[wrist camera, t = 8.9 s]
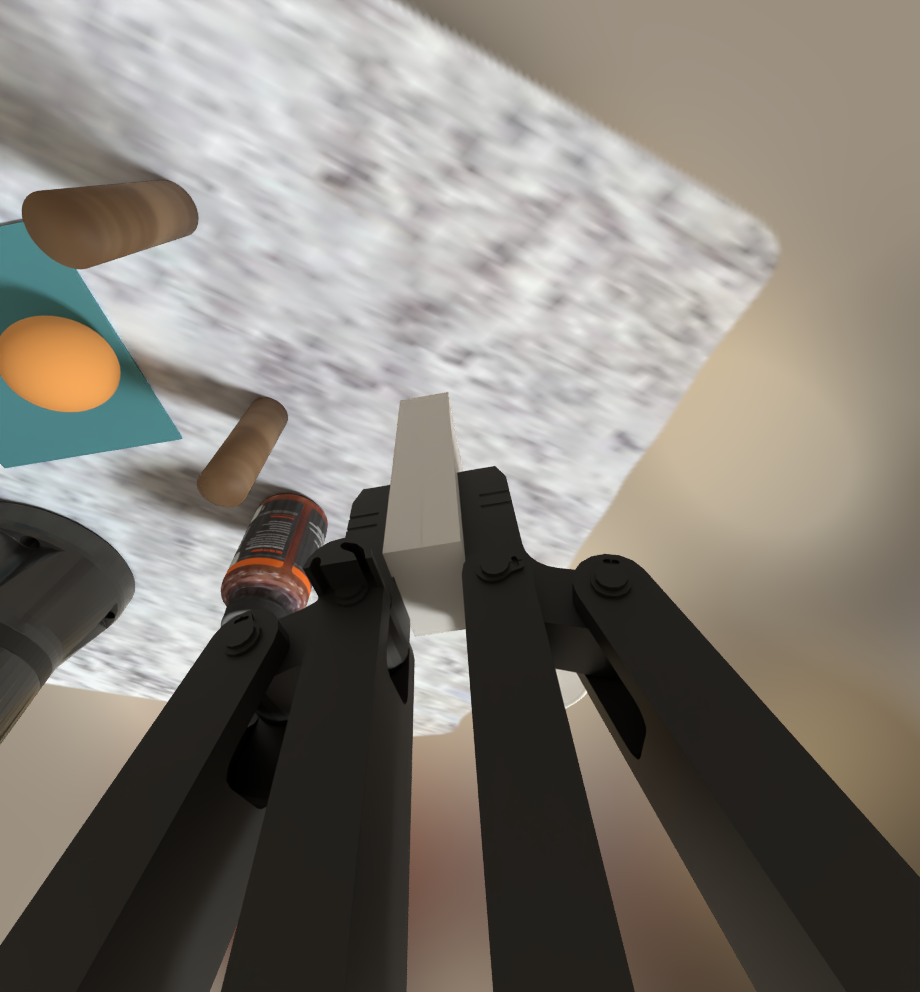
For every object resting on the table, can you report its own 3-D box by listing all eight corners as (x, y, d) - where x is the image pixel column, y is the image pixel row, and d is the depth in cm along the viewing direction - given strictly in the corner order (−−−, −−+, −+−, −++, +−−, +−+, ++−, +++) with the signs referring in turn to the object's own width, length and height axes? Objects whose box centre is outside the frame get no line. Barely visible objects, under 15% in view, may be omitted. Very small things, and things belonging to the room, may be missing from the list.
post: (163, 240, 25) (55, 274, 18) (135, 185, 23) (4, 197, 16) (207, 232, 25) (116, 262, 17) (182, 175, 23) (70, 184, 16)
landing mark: (6, 466, 33) (4, 468, 33) (-190, 263, 25) (-194, 264, 24) (182, 437, 32) (181, 439, 32) (43, 218, 24) (40, 218, 24)
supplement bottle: (242, 504, 37) (181, 617, 28) (302, 480, 35) (258, 589, 26) (286, 550, 40) (244, 663, 31) (342, 529, 39) (316, 641, 30)
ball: (149, 398, 27) (129, 381, 31) (90, 307, 24) (75, 299, 27) (46, 438, 25) (37, 415, 28) (-35, 341, 21) (-35, 328, 25)
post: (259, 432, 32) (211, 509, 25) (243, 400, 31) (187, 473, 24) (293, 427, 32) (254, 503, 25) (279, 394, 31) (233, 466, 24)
